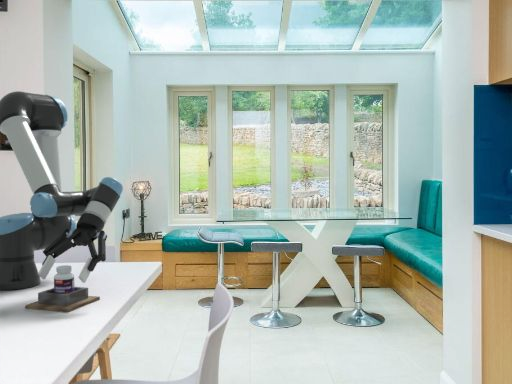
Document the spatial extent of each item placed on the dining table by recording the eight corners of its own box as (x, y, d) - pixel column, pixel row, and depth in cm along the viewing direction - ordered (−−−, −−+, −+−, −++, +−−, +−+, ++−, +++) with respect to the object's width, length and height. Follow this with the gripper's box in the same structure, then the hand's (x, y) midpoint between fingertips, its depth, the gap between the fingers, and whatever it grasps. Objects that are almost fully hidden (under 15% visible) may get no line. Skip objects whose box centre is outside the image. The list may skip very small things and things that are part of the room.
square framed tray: (25, 308, 136) (25, 294, 136) (59, 296, 150) (59, 283, 150) (68, 312, 132) (68, 298, 132) (99, 299, 146) (99, 286, 145)
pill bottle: (53, 303, 138) (52, 268, 137) (55, 299, 143) (54, 265, 142) (73, 302, 139) (73, 267, 139) (75, 297, 144) (74, 264, 144)
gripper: (133, 228, 152) (105, 288, 138) (65, 225, 159) (32, 282, 146) (123, 212, 146) (93, 273, 133) (53, 210, 154) (17, 268, 141)
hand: (61, 278), depth 139 cm, fingers open, 13 cm apart
